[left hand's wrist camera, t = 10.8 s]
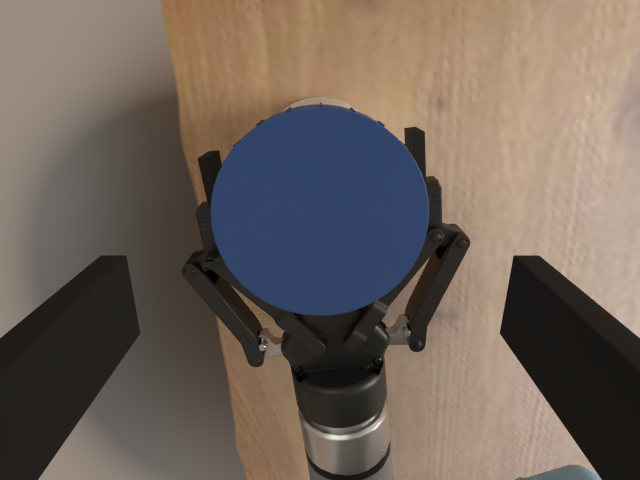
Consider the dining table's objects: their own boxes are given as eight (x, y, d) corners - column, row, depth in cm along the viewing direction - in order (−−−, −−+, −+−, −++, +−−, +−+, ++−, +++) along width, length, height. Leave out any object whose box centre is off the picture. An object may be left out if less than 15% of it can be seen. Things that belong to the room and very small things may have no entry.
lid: (308, 54, 19) (307, 51, 17) (461, 199, 22) (476, 212, 20) (180, 215, 22) (165, 229, 20) (328, 327, 24) (329, 351, 22)
